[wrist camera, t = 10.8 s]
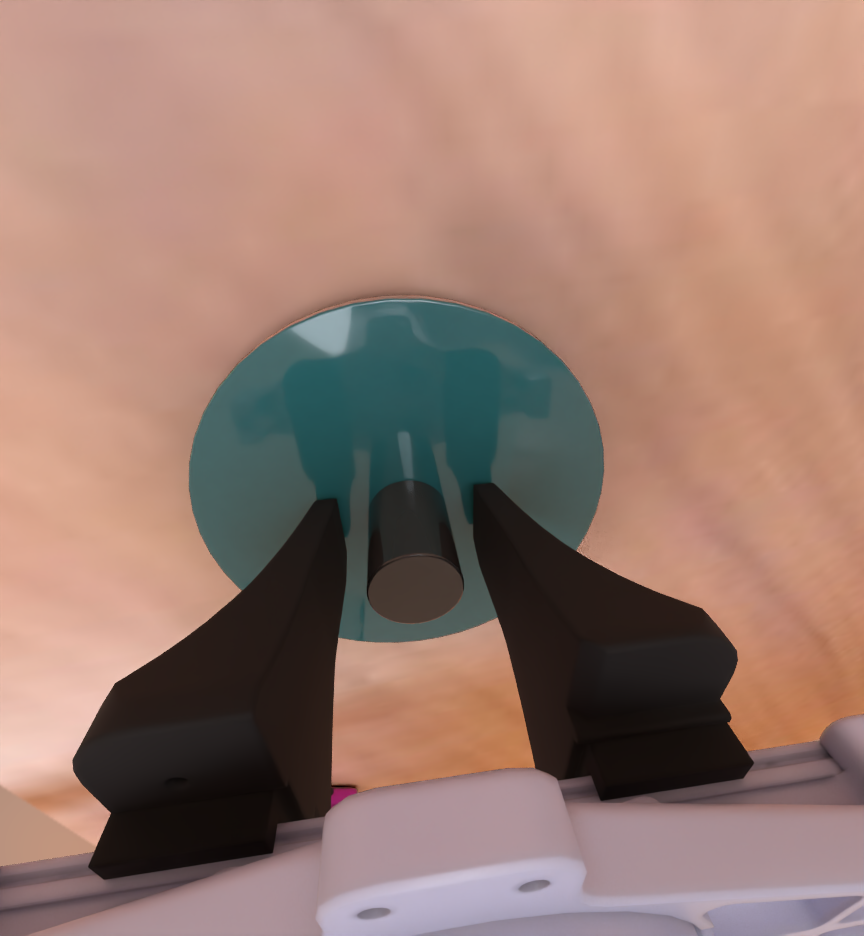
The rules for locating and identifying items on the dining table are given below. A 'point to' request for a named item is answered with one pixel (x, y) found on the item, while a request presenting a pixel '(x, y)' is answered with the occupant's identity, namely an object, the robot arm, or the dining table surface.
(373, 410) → the lid
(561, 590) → the robot arm
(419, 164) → the dining table surface
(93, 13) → the dining table surface
